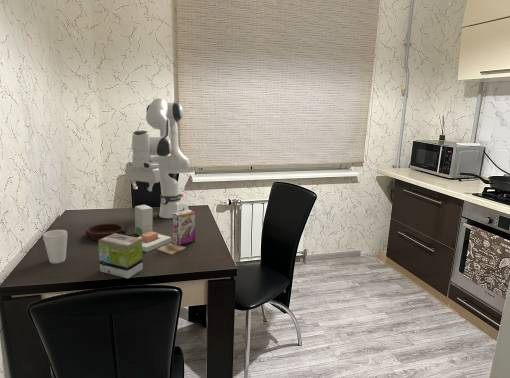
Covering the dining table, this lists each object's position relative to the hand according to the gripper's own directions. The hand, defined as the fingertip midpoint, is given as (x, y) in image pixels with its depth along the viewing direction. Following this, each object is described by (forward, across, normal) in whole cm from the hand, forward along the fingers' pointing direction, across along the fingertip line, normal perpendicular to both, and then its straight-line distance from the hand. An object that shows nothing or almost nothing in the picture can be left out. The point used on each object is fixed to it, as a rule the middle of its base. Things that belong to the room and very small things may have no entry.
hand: (142, 190), depth 185 cm
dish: (+27, -22, -5) cm, 35 cm away
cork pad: (+28, +20, -3) cm, 34 cm away
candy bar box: (+28, +20, +8) cm, 35 cm away
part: (+28, +6, -2) cm, 28 cm away
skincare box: (+27, -7, +8) cm, 29 cm away
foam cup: (+28, -16, -38) cm, 50 cm away
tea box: (+29, +16, -32) cm, 46 cm away
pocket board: (+27, +6, -2) cm, 28 cm away
